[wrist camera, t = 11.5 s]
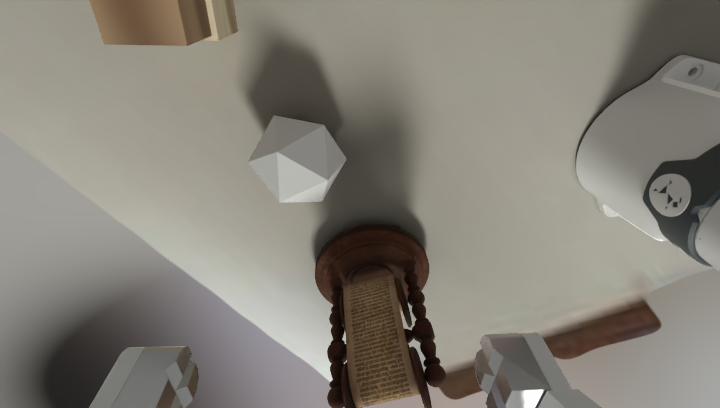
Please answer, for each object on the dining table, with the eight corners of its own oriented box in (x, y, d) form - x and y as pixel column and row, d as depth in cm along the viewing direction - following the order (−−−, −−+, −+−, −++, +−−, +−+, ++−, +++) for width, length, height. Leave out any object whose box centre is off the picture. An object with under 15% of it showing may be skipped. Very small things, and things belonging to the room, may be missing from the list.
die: (262, 97, 35) (217, 175, 31) (333, 89, 31) (292, 179, 27) (303, 148, 41) (270, 219, 37) (367, 148, 37) (337, 227, 33)
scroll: (411, 203, 42) (460, 350, 25) (434, 285, 50) (483, 438, 33) (298, 236, 44) (273, 394, 27) (337, 310, 52) (337, 468, 35)
